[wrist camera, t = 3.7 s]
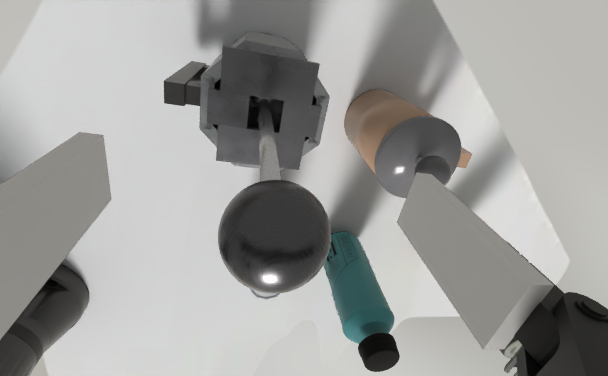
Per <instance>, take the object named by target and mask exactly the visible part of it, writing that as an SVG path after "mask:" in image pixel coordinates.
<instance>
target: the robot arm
mask: <svg viewBox="0 0 608 376" xmlns="http://www.w3.org/2000/svg"><path fill="white" fill-rule="evenodd" d="M110 200H111V192H110V184H109V176H108V169H107V161H106V153H105V145H104V137H103V135H99V134H90V133H82V132H79V133H78V134H76V135H75V136H73V137H72V138H70V139H69V140H67V141H66V142H64V143H63V144H61V145H59V146H58V147H56V148H55V149H53V150H52V151H50V152H49V153H47V154H46V155H44V156H43V157H41V158H40V159H38V160H37V161H35V162H34V163H32V164H31V165H29V166H28V167H26V168H25V169H23V170H22V171H20V172H18V173H17V174H15V175H14V176H12V177H11V178H9V179H8V180H6V181H5V182H3V183H2V184H0V376H29V375H30V374H31V372H32V371H33V369H34V367H35V366H36V364H37V362H38V361H39V359H40V358H41V356H42V355H43V353H44V352H45V351H46V350H47V349H48V348H50V347H51V346H52V345H53V344H54V343H55V342H56V341H57V340H58V339H59V338H61V337H62V336H63V335H64V334H65V333H66V332H67V331H68V330H69V329H70V328H72V327H73V326H74V325H75V324H76V323H77V322H78V320H79V319H80V318H81V316H82V314H83V312H84V311H85V309H86V307H87V305H88V302H89V294H88V290H87V288H86V286H85V284H84V283H83V281H82V280H81V279H80V278H79V277H78V276H77V275H76V274H75V273H74V272H73V271H71V270H70V269H68V268H67V267H65V266H63V265H61V262H62V261H63V260H64V259H65V257H66V256H67V255H68V254H69V252H70V251H71V250H72V249H73V247H74V246H75V245H76V243H77V242H78V241H79V240H80V238H81V237H82V236H83V235H84V233H85V232H86V231H87V230H88V228H89V227H90V226H91V224H92V223H93V222H94V221H95V219H96V218H97V217H98V216H99V214H100V213H101V212H102V211H103V209H104V208H105V207H106V206H107V204H108V203H109V202H110ZM397 223H398V225H399V226H400V228H401V229H402V231H403V232H404V234H405V235H406V237H407V238H408V240H409V241H410V243H411V244H412V246H413V247H414V249H415V250H416V251H417V253H418V254H419V256H420V257H421V259H422V260H423V262H424V263H425V265H426V266H427V268H428V269H429V271H430V272H431V274H432V275H433V277H434V278H435V280H436V281H437V282H438V284H439V285H440V287H441V288H442V290H443V291H444V293H445V294H446V296H447V297H448V299H449V300H450V302H451V303H452V305H453V306H454V308H455V309H456V310H457V312H458V313H459V315H460V316H461V318H462V319H463V320H464V322H465V324H466V325H467V327H468V328H469V330H470V331H471V333H472V334H473V336H474V337H475V339H476V340H477V341H478V343H479V344H480V346H481V347H482V349H483V350H497V349H498V350H500V349H505V348H506V346H507V345H508V344H509V343H510V341H511V340H512V339H513V338H514V336H515V337H516V338H517V339H518V341H519V342H520V343H521V344H522V346H521V347H520V349H519V350H518V351H517V352H516V353H515V355H514V356H513V357H512V358H511V360H510V361H509V362H508V363H507V364H506V366H505V369H504V371H505V372H507V373H508V372H509V371H510V370H511V369H512V367H517V372H516V373H515V374H514V376H608V309H607V308H605V307H604V306H602V305H601V304H599V303H598V302H596V301H594V300H592V299H590V298H588V297H586V296H584V295H581V294H578V293H572V292H568V293H565V294H564V293H563V292H562V291H561V290H560V289H559V288H558V287H557V286H556V285H555V284H553V283H552V282H551V281H550V280H549V279H548V278H547V277H546V276H545V275H543V274H542V273H541V272H540V271H539V270H538V269H537V268H536V267H535V266H533V265H532V264H531V263H529V262H528V260H527V259H526V258H525V257H524V256H522V255H520V254H519V252H518V251H517V250H516V249H515V248H514V247H512V246H511V245H510V244H509V243H508V242H506V241H505V240H504V239H503V238H501V237H500V236H499V235H498V234H497V233H496V232H495V231H494V230H493V229H492V228H490V227H489V226H488V225H487V224H486V223H485V222H484V221H483V220H482V219H480V218H479V217H478V216H477V215H476V214H475V213H474V212H473V211H472V210H471V209H469V208H468V207H467V206H466V205H465V204H464V203H463V202H462V201H461V200H460V199H458V198H457V197H456V196H455V195H454V194H453V193H452V192H451V191H450V190H449V189H447V188H446V187H445V186H444V185H443V184H442V183H441V182H440V181H439V180H437V179H436V178H435V177H434V176H433V175H432V174H425V173H416V175H415V178H414V180H413V183H412V185H411V188H410V190H409V193H408V195H407V198H406V200H405V203H404V205H403V208H402V210H401V213H400V216H399V218H398V221H397Z"/></svg>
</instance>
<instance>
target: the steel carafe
mask: <svg viewBox="0 0 608 376" xmlns="http://www.w3.org/2000/svg"><path fill="white" fill-rule="evenodd" d="M319 65H320V64H319V63H315V62H310V61H307V60H306V58H305V56H304V55H303V53H302V52H301V51H300V50H299V49H298V48H296V47H295V46H294V45H293V44H291V43H290V42H289V41H288V40H286V39H285V38H282V37H277V36H274V35H271V34H267V33H257V32H252V31H248V32H247V33H246V34H245V35H243V36H242V37H241V38H239V39H238V40H236V41H235V42H234V43H233V44H232V45H231V46H225V45H223V49H222V53H221V54H220V56H219V57H218V58H217V59H216V60H215V61H214V62H213V63H212V64H211V65H210V66H208V65H206V64H205V63H200V62H194V61H191V62H190V63H189V64H187V65H186V66H184V67H183V68H181V69H180V70H179V71H177V72H176V73H174V74H173V75H172V76H170V77H169V78H167V79H166V80H164V103H167V104H174V105H181V106H185V105H186V104H191V105H197V106H200V130H201V131H202V132H203V133H204V134H205V135H206V136H207V137H208V138H209V139H210V140H211V142H212V143H213V144H214V145H215V146H216V147H217V156H216V161H225V162H231V163H232V164H233V165H234V166H242V167H251V168H260V147H259V128H257V127H250V126H247V119H248V110H249V100H250V96H257V97H263V98H269V99H276V100H282V101H283V106H282V112H281V119H280V125H279V130H274V135H275V142H276V148H277V155H278V162H279V168H280V171H281V170H283V169H284V168H288V169H297V170H299V166H300V161H301V157H302V156H303V155H305V154H306V153H308V152H309V151H310V150H312V149H313V148H315V147H316V146H318V145H319V143H320V139H321V134H322V130H323V125H324V121H325V116H326V112H327V107H328V103H329V98H330V97H329V95H328V93H327V91H326V90H325V88H324V87H323V85H322V83H321V82H320V80H319V79H318V77H317V75H318V70H319Z"/></svg>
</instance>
